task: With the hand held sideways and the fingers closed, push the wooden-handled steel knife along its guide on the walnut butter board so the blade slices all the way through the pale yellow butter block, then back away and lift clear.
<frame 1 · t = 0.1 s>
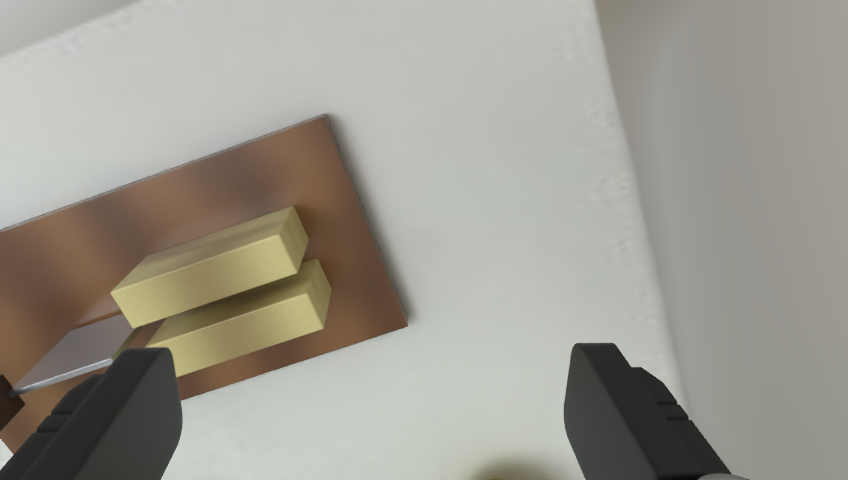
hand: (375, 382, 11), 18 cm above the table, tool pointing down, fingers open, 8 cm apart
butter board: (211, 277, 30), on the table
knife: (23, 374, 26), point 5 cm above the table, slide at 0.0 cm
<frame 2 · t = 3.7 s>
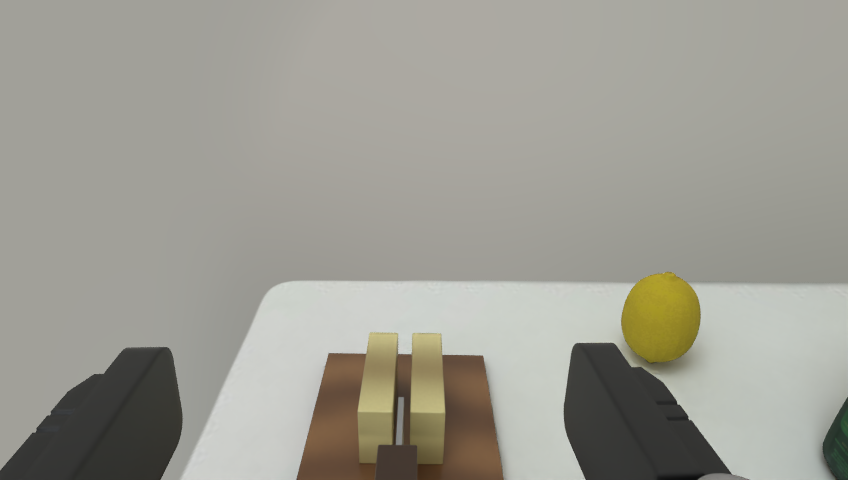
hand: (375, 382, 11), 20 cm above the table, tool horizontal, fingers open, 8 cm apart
butter board: (402, 451, 36), on the table
lemon: (649, 363, 45), on the table
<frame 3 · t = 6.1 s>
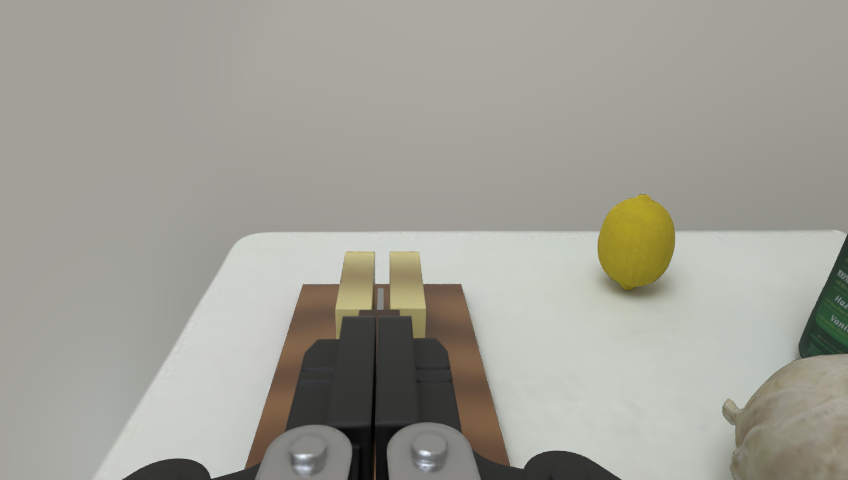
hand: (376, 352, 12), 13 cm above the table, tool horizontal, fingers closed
butter board: (381, 363, 34), on the table
lemon: (626, 291, 45), on the table
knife: (379, 379, 25), point 5 cm above the table, slide at 0.0 cm
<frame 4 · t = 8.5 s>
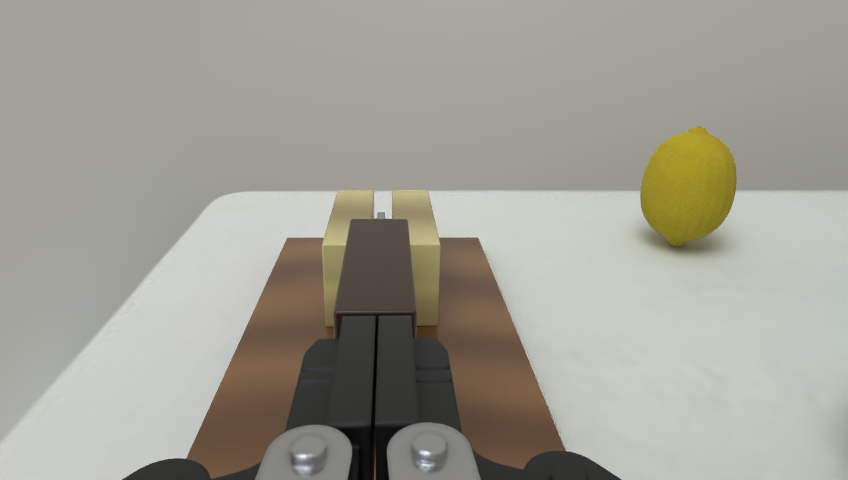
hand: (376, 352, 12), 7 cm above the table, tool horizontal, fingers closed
butter board: (382, 323, 27), on the table
lemon: (674, 248, 38), on the table
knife: (379, 319, 18), point 5 cm above the table, slide at 0.3 cm, touching gripper
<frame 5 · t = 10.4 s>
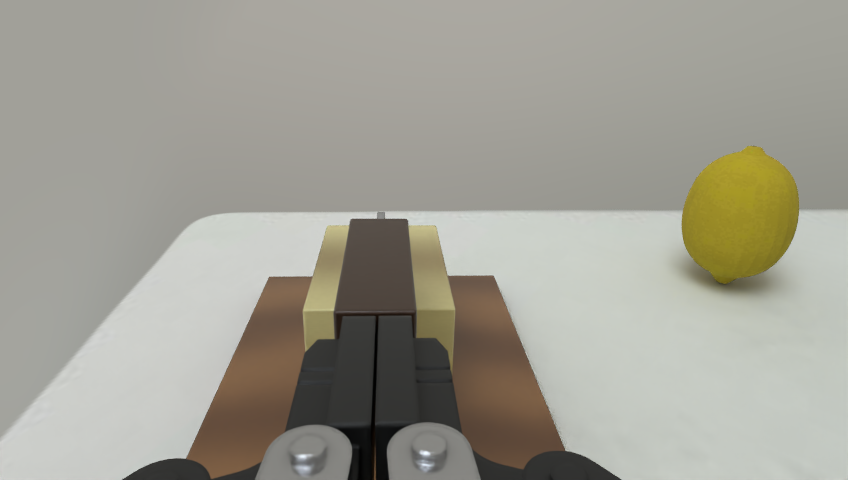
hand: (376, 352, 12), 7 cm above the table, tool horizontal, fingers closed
butter board: (381, 397, 22), on the table
lemon: (720, 285, 32), on the table
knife: (379, 319, 18), point 5 cm above the table, slide at 5.9 cm, touching gripper
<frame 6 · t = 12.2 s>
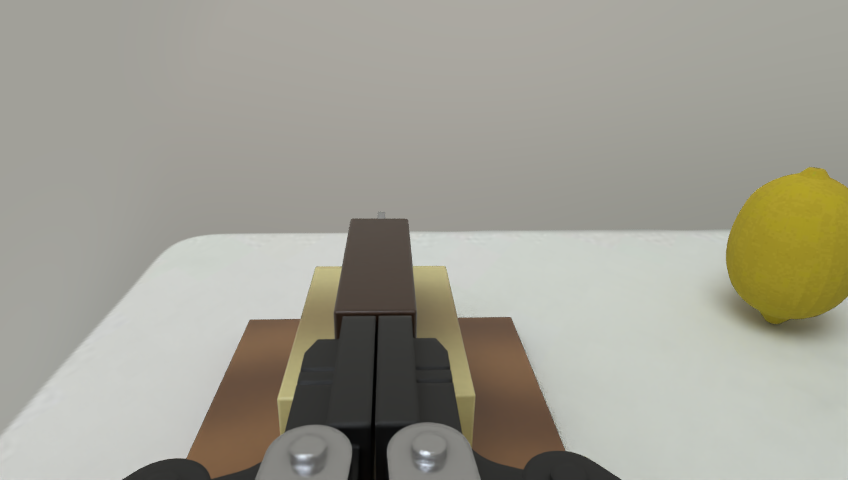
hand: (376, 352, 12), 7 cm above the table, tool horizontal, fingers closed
lemon: (770, 326, 28), on the table
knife: (379, 319, 18), point 5 cm above the table, slide at 10.5 cm, touching gripper
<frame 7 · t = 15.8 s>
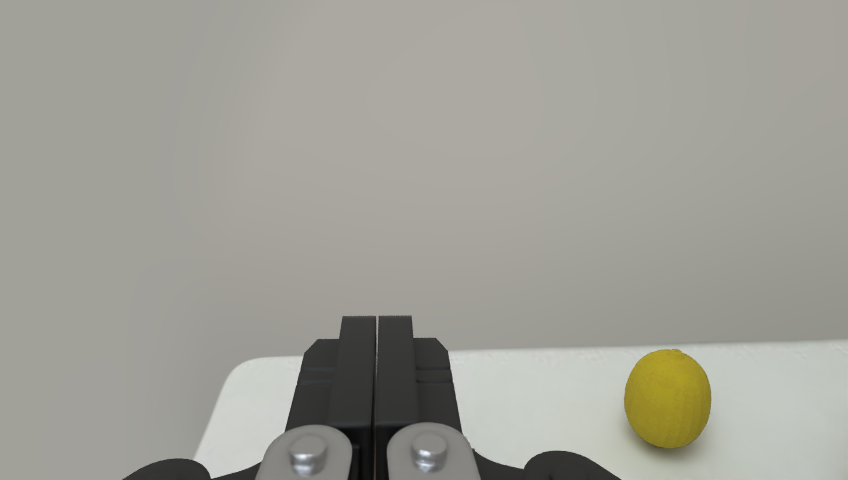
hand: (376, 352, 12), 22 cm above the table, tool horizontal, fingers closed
lemon: (656, 447, 41), on the table
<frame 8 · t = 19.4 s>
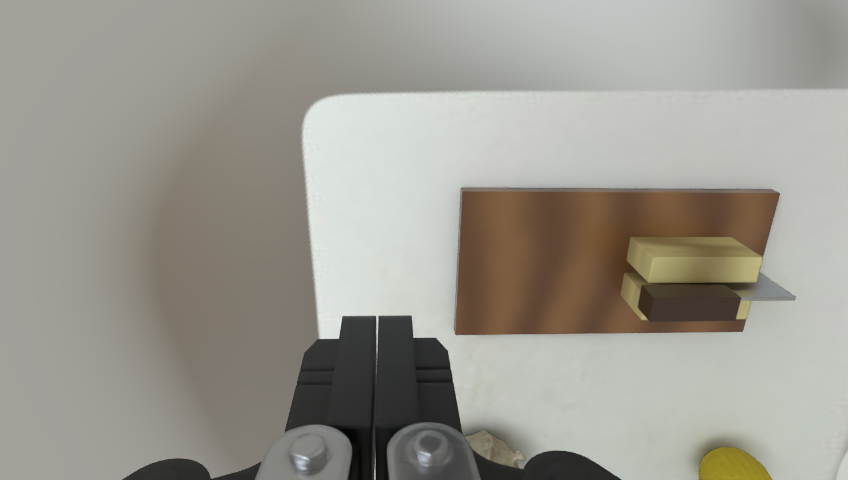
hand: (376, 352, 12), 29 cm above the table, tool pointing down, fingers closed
butter board: (644, 261, 44), on the table
lemon: (711, 450, 52), on the table
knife: (705, 287, 40), point 5 cm above the table, slide at 10.5 cm
garlic bulb: (467, 448, 51), on the table
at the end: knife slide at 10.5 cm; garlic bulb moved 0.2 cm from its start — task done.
